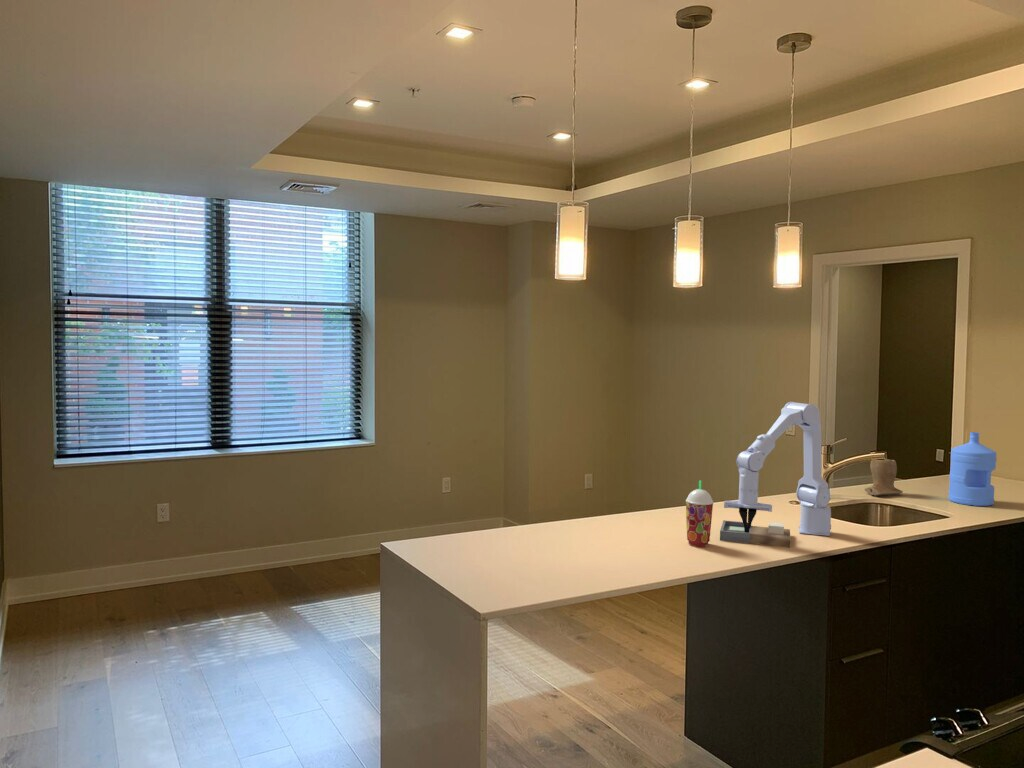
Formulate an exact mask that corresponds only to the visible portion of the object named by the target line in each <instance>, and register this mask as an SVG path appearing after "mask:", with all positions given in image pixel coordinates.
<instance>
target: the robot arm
mask: <svg viewBox="0 0 1024 768" xmlns="http://www.w3.org/2000/svg"><path fill="white" fill-rule="evenodd" d="M820 411H821V409H820V408H818V407H817V406H816V405H815V404H812V403H802V402H794V401H789V402H787V403H785V405H784V407H783V408H781V410H780V416H779V417H778V418H777V419H776V421H774V423H773V424H772V426H771V427H770V428H769V430H767V432H766V433H763V434H760V435H757V437H756V439H755V440H754V441H753V442H752V443H751V445H750V446H749V447H748V448H747V449H746V450H744V451H741V452H740V453H739V454H738V455H737V457H736V459H735V463H736V466H737V467H738V473H739V478H738V479H739V484H738V500H724V502H723V508H724V509H729V508H730V509H738V513H739V515H740V518H741V520H742V521H741V522H743V524H744V529H745V532H746V533H749V530H750V526H752V524H753V523H752V522H753V520H754V519H755V516H756V514H757V511H763V512H764V511H765V512H769V513H772V512H773V504H769V503H763V502H758V499H759V497H758V496H759V473H760V470H761V469H763V467H764V462H765V460H766V458H767V456H768V455H769V454H770V453H771V452H772V451H773V449H775V447H776V441H777V439H779V438H780V437H781V435H783V434H784V432H786V431H787V430H788V429H789V428H790V427H791V426H799V428H801V429H802V430H803V477H801V478H800V479H799V480H798V482H797V484H798V485H797V489H796V492H795V493H796V494H795V495H796V499H797V500H798V501H799V505H800V525H799V526H798V533H799V534H804V535H805V534H807V535H815V536H828V537H830V536H831V530H832V524H831V522H832V520H831V519H832V509H831V507H830V506H828V504H829V503H830V501H831V492H830V489H829V483H828V482H827V481H826V480H825V479H824V478H823V477H822V422H821V417H820V416H821V414H820V413H821V412H820ZM747 522H748V525H747Z"/></svg>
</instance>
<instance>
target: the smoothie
mask: <svg viewBox="0 0 1024 768" xmlns="http://www.w3.org/2000/svg"><path fill="white" fill-rule="evenodd" d="M713 507H714V500H713V498H712V496H711V494H710V493H709V492H708V491H707V490H705V489H702V480H700V479H699V481H698V488H696V489H694V490H692V491H690V493H689V494H688V496H687V498H686V499H685V515H686V520H685V521H686V540H687V541H688V544H689V545H690V546H692V547H697V548H698V547H701V548H703V547H707V546H708V544H709V542H710V540H711V539H710V538H711V529H712V528H711V527H712V520H713V519H712V518H713Z"/></svg>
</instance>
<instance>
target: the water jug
mask: <svg viewBox="0 0 1024 768" xmlns="http://www.w3.org/2000/svg"><path fill="white" fill-rule="evenodd" d="M969 434H970V435H969V442H967V443H964V444H961V445H957V446H955V447H952V448H951V451H950V467H949V469H950V471H949V487H948V500H949V501H950V502H951V503H954V504H958V503H959V505H963V504H964V506H970V505H973V506H972V507H990V505H991V506H992V505H994V504H995V486H994V485H992V483H991V482H992V481H991V479H992V472H993V471H995V470H996V465H997V452H996V451H995V450H993V449H992V448H989V447H988V446H985V445H984V444H982V443H980V432H978V431H970V432H969Z"/></svg>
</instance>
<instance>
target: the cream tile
mask: <svg viewBox="0 0 1024 768" xmlns="http://www.w3.org/2000/svg"><path fill="white" fill-rule="evenodd" d="M784 525H785V524H784V523H780V522H768V527H769V533H771V534H782V535H784V529H785V528H784V527H785V526H784Z"/></svg>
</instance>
